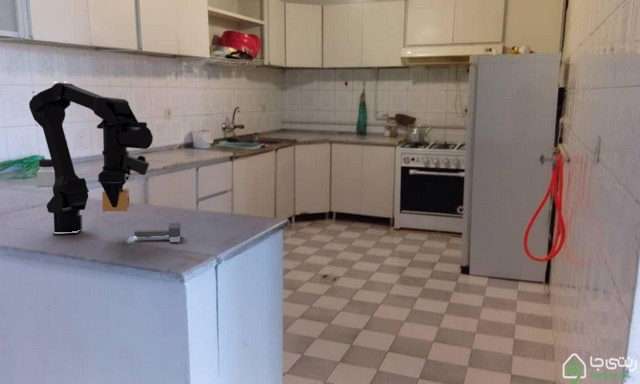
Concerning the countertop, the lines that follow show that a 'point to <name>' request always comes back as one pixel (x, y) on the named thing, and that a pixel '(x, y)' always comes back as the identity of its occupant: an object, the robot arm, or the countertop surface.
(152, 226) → the countertop surface
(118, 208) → the wooden u-channel block
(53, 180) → the medicine bottle
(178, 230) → the hammer
